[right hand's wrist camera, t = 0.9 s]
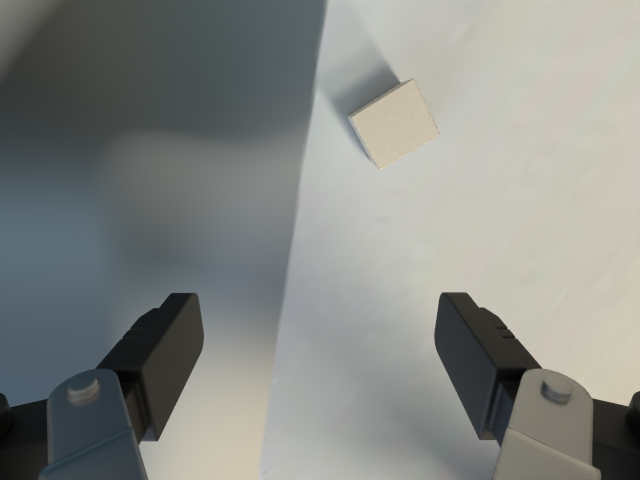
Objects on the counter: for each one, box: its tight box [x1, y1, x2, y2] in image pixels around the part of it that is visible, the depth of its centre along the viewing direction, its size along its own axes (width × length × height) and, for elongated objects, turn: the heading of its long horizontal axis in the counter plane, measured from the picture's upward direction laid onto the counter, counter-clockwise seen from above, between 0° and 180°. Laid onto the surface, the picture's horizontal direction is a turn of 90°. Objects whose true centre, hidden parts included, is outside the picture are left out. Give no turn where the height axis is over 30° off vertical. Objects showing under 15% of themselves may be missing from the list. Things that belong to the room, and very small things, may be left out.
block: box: [347, 78, 440, 170], centre depth 26 cm, size 4×5×4 cm
